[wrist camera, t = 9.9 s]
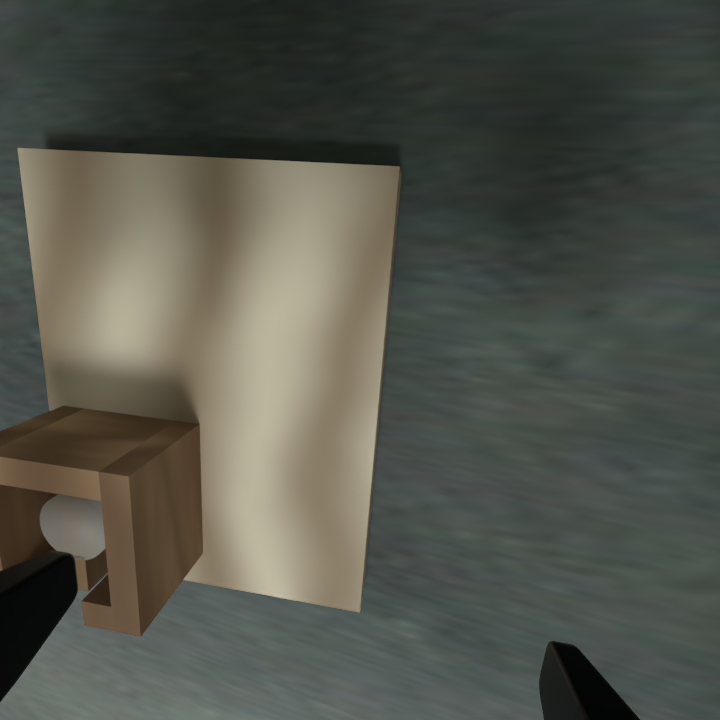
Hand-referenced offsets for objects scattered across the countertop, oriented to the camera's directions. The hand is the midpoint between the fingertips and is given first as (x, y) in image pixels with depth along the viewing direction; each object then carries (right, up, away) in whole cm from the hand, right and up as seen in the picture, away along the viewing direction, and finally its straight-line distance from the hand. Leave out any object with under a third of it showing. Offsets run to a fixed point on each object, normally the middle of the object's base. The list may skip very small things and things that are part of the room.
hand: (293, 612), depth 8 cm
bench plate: (-5, +3, +11) cm, 13 cm away
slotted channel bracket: (-9, -1, +12) cm, 15 cm away
